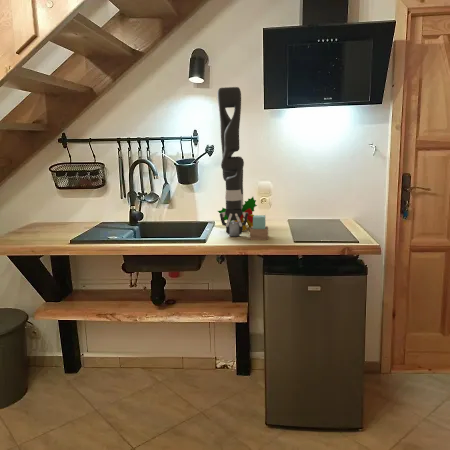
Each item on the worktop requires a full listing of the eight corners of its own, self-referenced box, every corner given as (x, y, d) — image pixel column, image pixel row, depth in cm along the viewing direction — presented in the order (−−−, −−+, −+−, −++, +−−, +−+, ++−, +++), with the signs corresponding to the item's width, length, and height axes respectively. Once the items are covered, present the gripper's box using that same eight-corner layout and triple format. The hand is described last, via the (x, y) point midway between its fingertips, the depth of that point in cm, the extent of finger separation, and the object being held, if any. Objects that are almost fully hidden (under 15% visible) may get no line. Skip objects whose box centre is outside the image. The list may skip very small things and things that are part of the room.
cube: (253, 226, 212) (253, 215, 211) (265, 226, 211) (265, 215, 210) (253, 229, 206) (252, 217, 205) (265, 229, 206) (264, 217, 205)
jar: (229, 233, 218) (229, 221, 217) (240, 233, 217) (240, 221, 216) (228, 236, 213) (228, 224, 212) (239, 236, 212) (239, 223, 211)
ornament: (228, 240, 228) (219, 216, 221) (225, 232, 235) (216, 209, 228) (266, 226, 229) (258, 201, 221) (261, 219, 236) (254, 194, 229)
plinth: (251, 236, 214) (251, 226, 213) (268, 236, 213) (267, 226, 212) (250, 240, 206) (250, 229, 205) (267, 240, 205) (267, 229, 204)
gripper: (249, 197, 214) (249, 232, 218) (219, 198, 216) (220, 232, 219) (248, 199, 207) (248, 235, 210) (217, 200, 209) (218, 235, 212)
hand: (234, 233), depth 215 cm, fingers closed on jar, 5 cm apart
